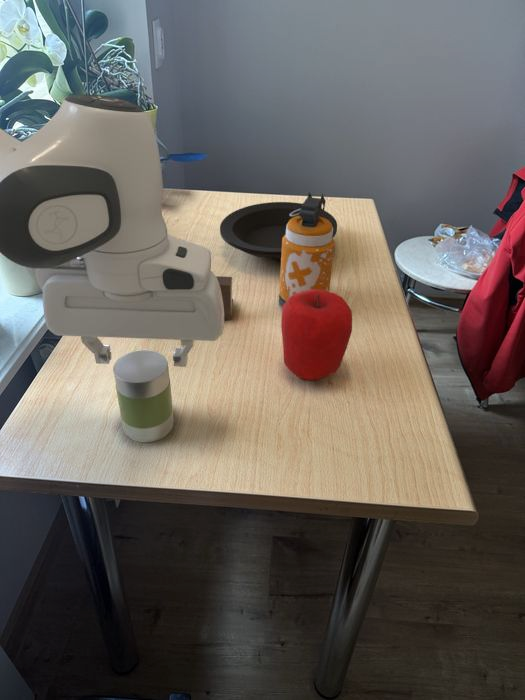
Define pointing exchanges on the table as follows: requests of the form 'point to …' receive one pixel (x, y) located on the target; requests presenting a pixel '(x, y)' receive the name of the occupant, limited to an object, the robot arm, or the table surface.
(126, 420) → the can
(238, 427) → the table surface
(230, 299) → the brown wooden block
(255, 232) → the plate
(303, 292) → the apple
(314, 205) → the canister
